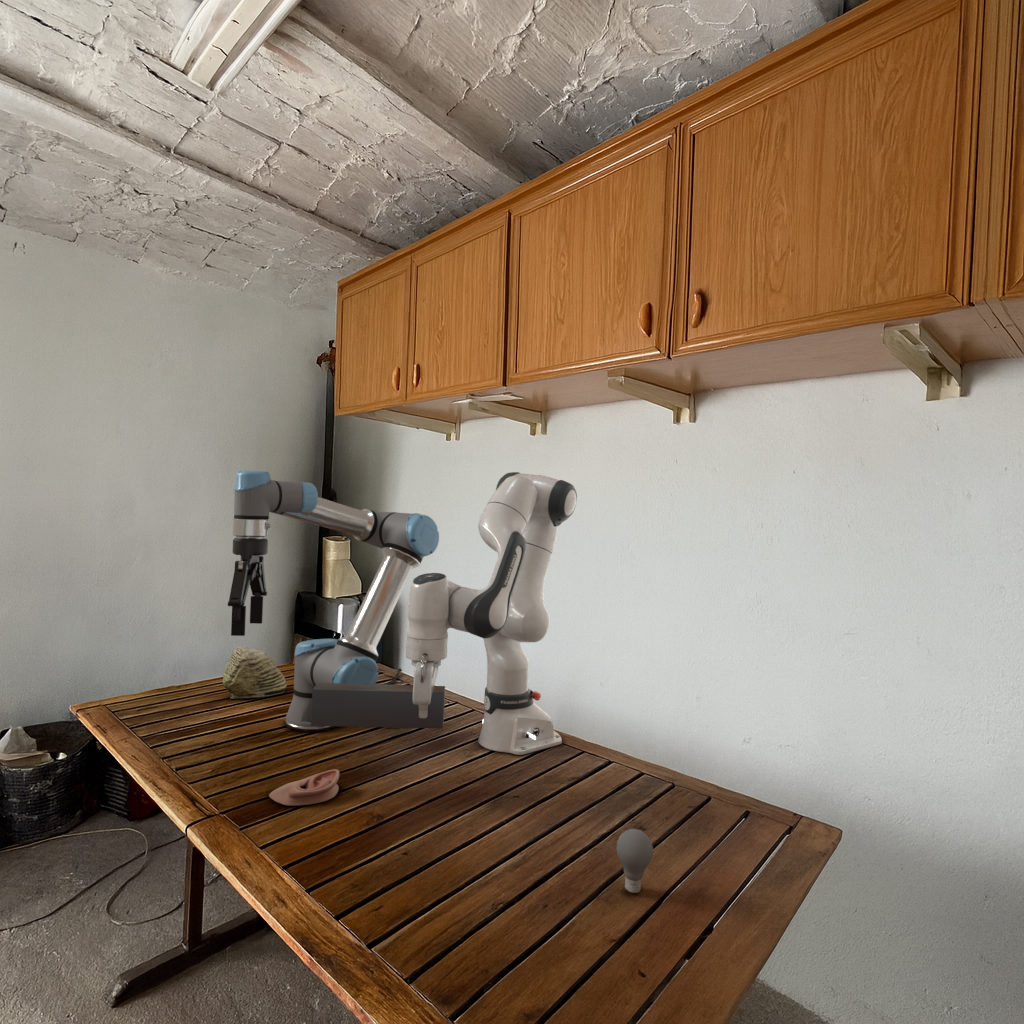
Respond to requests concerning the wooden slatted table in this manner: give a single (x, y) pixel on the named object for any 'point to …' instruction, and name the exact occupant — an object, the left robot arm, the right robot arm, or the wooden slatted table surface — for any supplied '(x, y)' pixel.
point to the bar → (373, 706)
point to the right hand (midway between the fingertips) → (424, 712)
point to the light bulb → (634, 857)
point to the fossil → (252, 674)
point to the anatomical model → (308, 789)
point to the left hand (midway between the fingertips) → (247, 629)
